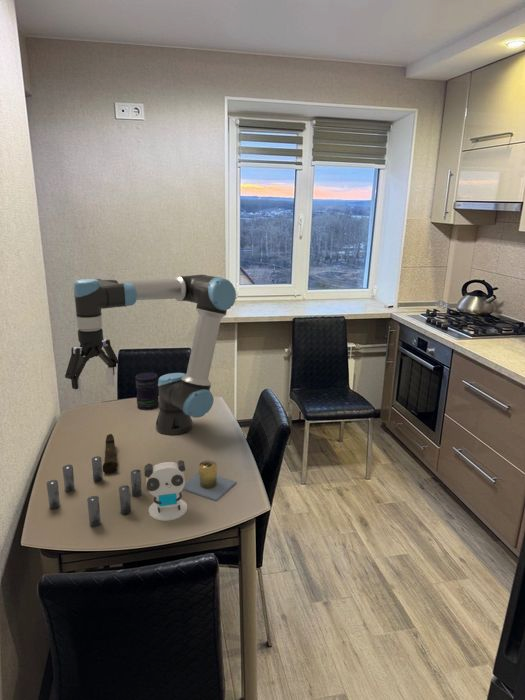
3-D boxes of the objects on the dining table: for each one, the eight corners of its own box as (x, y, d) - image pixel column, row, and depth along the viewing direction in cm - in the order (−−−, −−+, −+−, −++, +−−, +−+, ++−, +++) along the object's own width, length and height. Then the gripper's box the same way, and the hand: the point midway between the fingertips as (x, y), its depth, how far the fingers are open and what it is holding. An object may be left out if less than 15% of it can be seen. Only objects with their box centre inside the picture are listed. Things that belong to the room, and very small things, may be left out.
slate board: (201, 472, 164) (201, 470, 163) (236, 483, 157) (236, 481, 157) (179, 488, 153) (179, 487, 153) (216, 501, 147) (216, 499, 147)
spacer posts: (91, 474, 161) (89, 452, 159) (152, 496, 149) (151, 474, 147) (39, 503, 144) (36, 480, 142) (103, 532, 132) (101, 506, 130)
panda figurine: (146, 523, 136) (144, 476, 132) (146, 501, 146) (144, 457, 142) (188, 517, 139) (187, 472, 135) (185, 496, 149) (184, 453, 145)
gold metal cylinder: (206, 477, 159) (205, 458, 157) (220, 482, 156) (219, 463, 154) (196, 485, 154) (195, 466, 152) (210, 490, 151) (209, 470, 150)
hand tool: (117, 473, 162) (116, 458, 161) (103, 475, 161) (102, 460, 160) (119, 444, 183) (119, 431, 182) (106, 445, 182) (105, 432, 181)
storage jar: (152, 400, 226) (151, 370, 222) (162, 407, 219) (161, 376, 215) (133, 405, 220) (131, 375, 216) (143, 412, 213) (141, 380, 209)
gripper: (110, 320, 163) (114, 379, 169) (48, 334, 142) (55, 401, 147) (127, 323, 160) (130, 382, 165) (65, 338, 138) (72, 406, 144)
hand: (95, 391), depth 156 cm, fingers open, 13 cm apart
